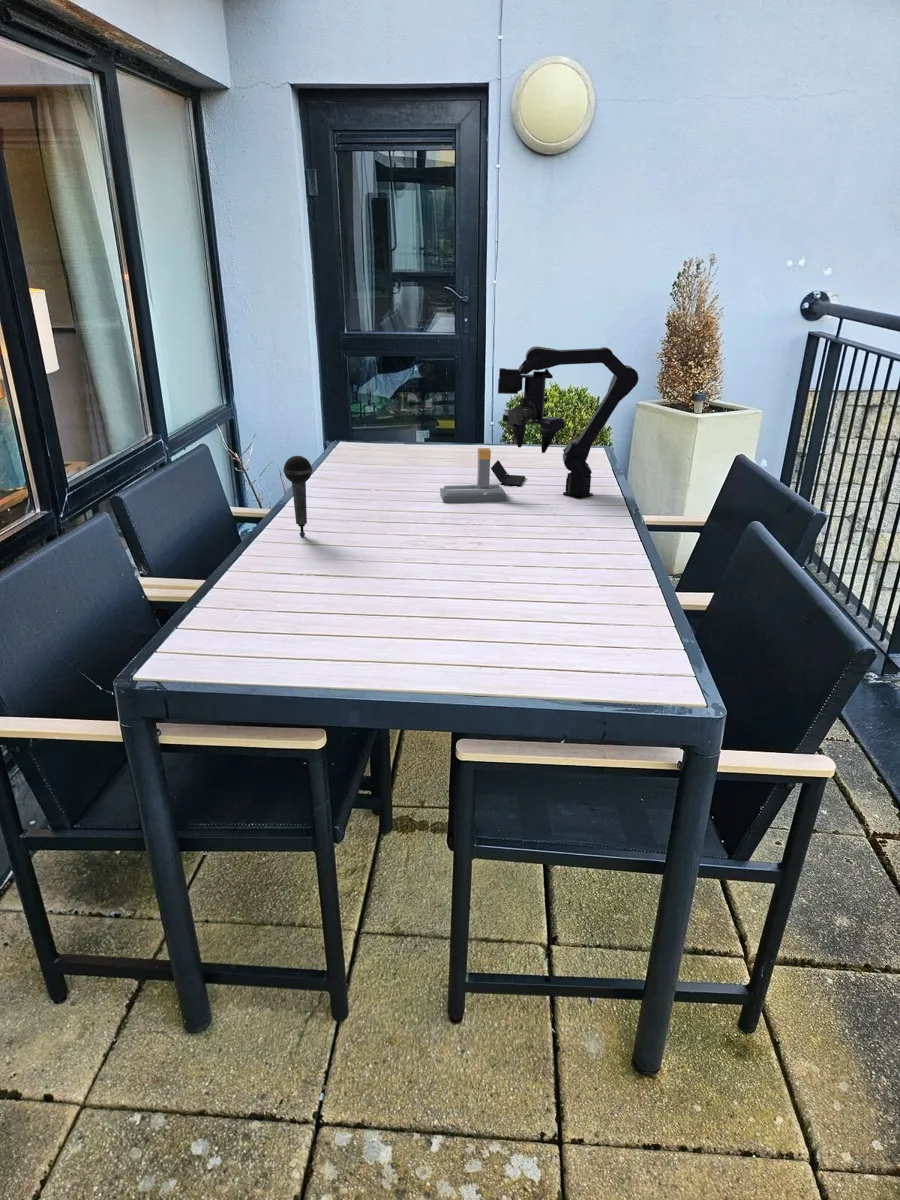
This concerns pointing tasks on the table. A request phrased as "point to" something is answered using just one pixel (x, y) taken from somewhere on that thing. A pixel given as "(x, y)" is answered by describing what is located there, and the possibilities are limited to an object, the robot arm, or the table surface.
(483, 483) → the block
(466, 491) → the fader track
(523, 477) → the handheld gaming console
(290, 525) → the table surface
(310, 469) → the microphone
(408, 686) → the table surface
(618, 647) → the table surface
